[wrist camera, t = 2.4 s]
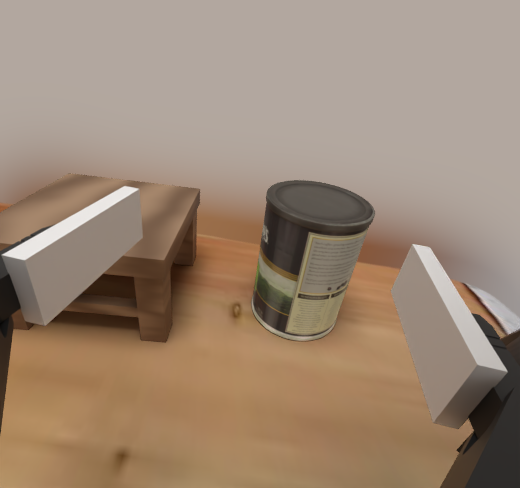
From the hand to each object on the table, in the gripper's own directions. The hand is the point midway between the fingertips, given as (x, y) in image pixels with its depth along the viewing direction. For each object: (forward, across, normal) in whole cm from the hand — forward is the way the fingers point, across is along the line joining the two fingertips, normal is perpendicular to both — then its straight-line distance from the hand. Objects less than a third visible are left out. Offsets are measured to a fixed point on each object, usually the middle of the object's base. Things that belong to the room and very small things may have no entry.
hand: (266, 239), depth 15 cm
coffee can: (+15, +3, -17) cm, 23 cm away
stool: (+13, -17, -17) cm, 28 cm away
